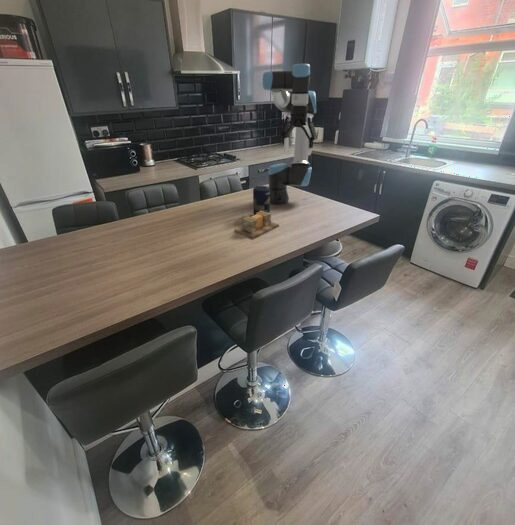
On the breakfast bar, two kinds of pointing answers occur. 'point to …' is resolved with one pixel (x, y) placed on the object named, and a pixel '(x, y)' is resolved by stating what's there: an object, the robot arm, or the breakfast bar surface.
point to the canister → (261, 199)
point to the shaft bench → (258, 233)
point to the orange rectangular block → (259, 218)
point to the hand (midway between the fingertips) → (297, 153)
